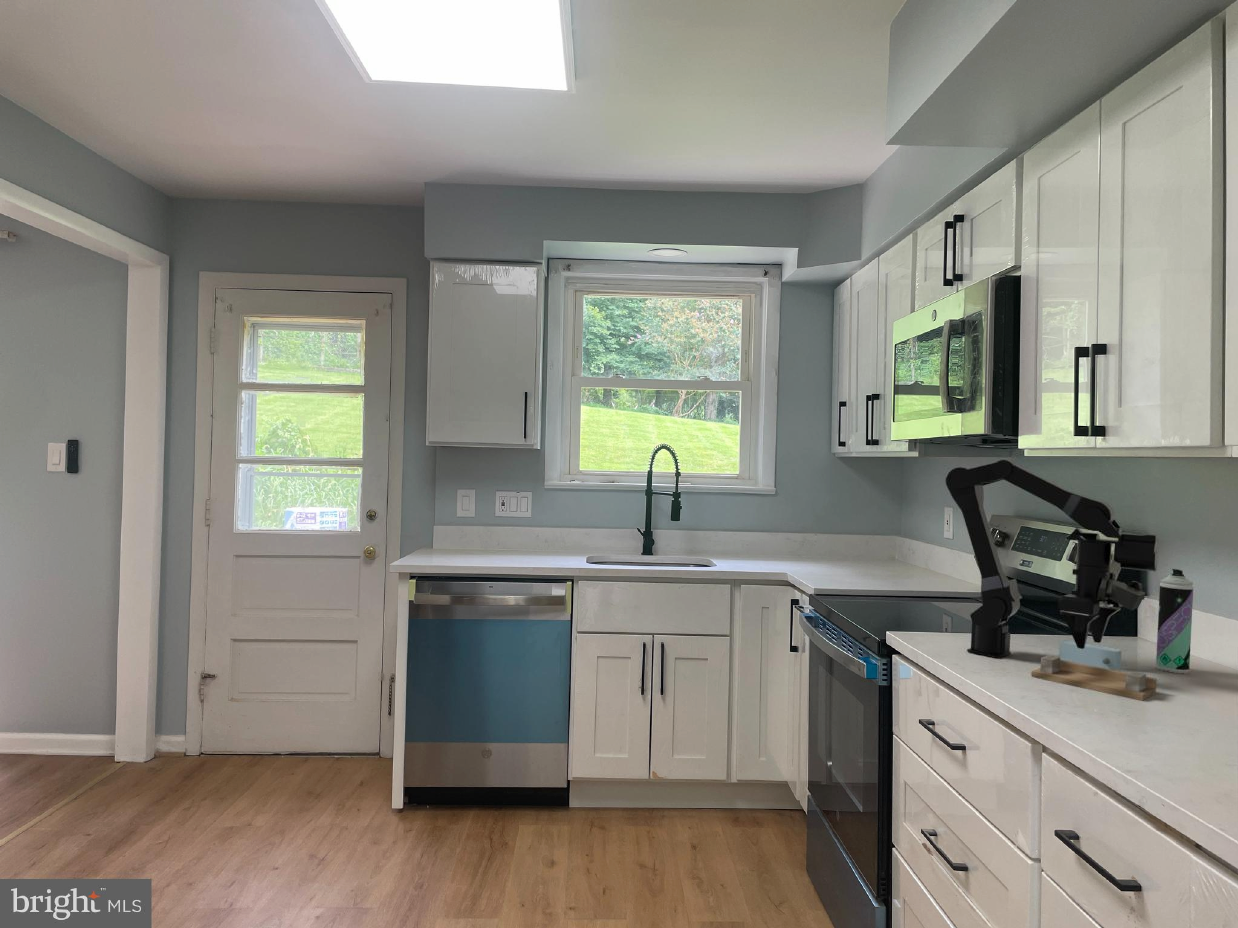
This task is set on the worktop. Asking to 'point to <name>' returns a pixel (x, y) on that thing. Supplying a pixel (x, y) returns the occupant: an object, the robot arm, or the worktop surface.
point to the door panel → (1090, 655)
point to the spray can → (1174, 623)
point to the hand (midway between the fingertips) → (1089, 645)
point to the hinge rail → (1096, 678)
